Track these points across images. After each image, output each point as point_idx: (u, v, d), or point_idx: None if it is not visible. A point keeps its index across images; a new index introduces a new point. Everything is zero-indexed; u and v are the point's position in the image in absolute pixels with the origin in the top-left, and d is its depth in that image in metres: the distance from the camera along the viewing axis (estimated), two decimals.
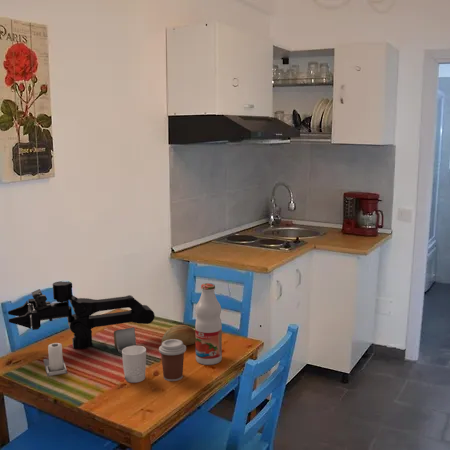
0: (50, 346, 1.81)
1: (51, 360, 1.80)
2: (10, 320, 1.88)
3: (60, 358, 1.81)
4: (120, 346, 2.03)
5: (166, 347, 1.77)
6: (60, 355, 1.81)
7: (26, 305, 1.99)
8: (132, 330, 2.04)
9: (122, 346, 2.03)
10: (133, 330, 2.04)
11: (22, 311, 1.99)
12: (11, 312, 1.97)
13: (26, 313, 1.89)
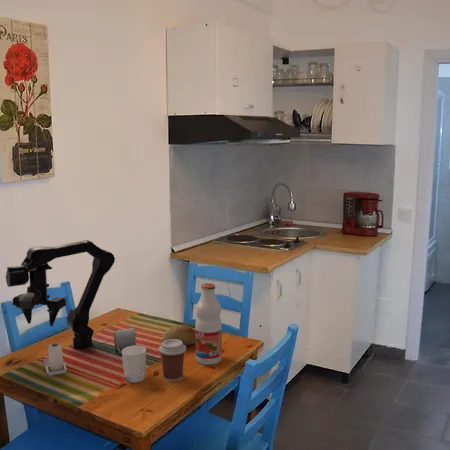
0: (50, 346, 1.81)
1: (51, 360, 1.80)
2: (52, 324, 1.93)
3: (60, 358, 1.81)
4: (120, 346, 2.02)
5: (166, 347, 1.77)
6: (60, 355, 1.81)
7: (24, 307, 1.93)
8: (132, 330, 2.04)
9: (122, 346, 2.02)
10: (133, 330, 2.04)
11: (28, 310, 1.95)
12: (29, 320, 1.95)
13: (49, 312, 1.90)
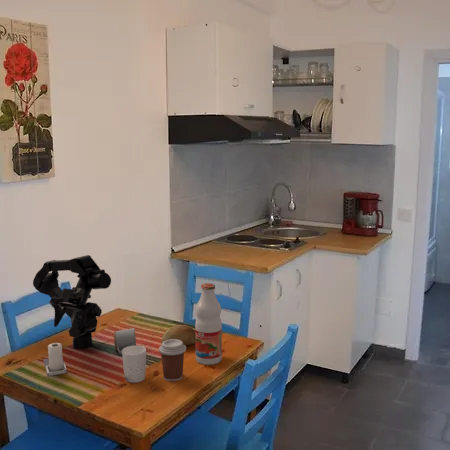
0: (50, 346, 1.81)
1: (51, 360, 1.80)
2: (78, 329, 1.88)
3: (60, 358, 1.81)
4: (120, 347, 2.02)
5: (166, 347, 1.77)
6: (60, 355, 1.81)
7: (58, 307, 1.93)
8: (132, 331, 2.04)
9: (122, 347, 2.02)
10: (133, 331, 2.04)
11: (60, 314, 1.93)
12: (56, 323, 1.91)
13: (83, 312, 1.89)
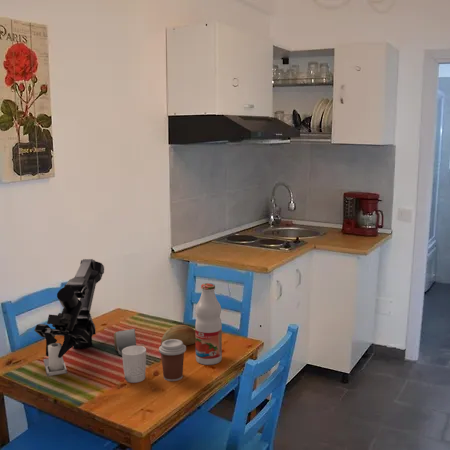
0: (50, 346, 1.81)
1: (51, 360, 1.80)
2: (60, 355, 1.80)
3: (60, 358, 1.81)
4: (120, 348, 2.01)
5: (166, 347, 1.77)
6: None
7: (50, 335, 1.84)
8: (132, 332, 2.03)
9: (122, 348, 2.01)
10: (133, 332, 2.03)
11: (52, 342, 1.85)
12: None
13: (65, 338, 1.82)
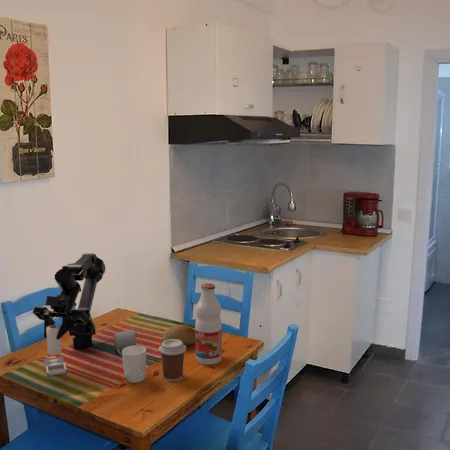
0: (48, 328, 1.80)
1: (49, 342, 1.79)
2: (58, 337, 1.79)
3: (58, 340, 1.80)
4: (120, 348, 2.00)
5: (166, 347, 1.77)
6: None
7: (48, 317, 1.83)
8: (132, 332, 2.02)
9: (122, 348, 2.01)
10: (133, 332, 2.02)
11: (50, 324, 1.84)
12: (46, 334, 1.81)
13: (63, 320, 1.81)
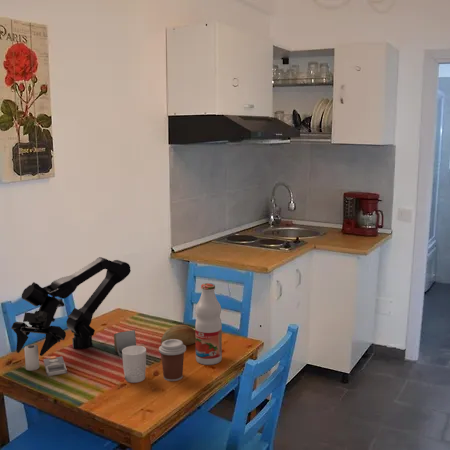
0: (26, 348, 1.84)
1: (27, 362, 1.83)
2: (41, 354, 1.82)
3: (36, 359, 1.84)
4: (120, 349, 2.00)
5: (166, 347, 1.77)
6: (36, 356, 1.84)
7: (21, 332, 1.87)
8: (132, 333, 2.02)
9: (122, 349, 2.00)
10: (133, 333, 2.02)
11: (22, 339, 1.88)
12: (19, 349, 1.85)
13: (46, 337, 1.83)
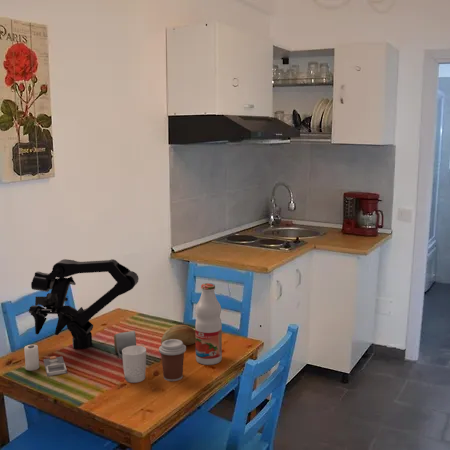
0: (26, 348, 1.84)
1: (27, 362, 1.83)
2: (57, 333, 1.91)
3: (36, 359, 1.84)
4: (120, 350, 1.99)
5: (166, 347, 1.77)
6: (36, 356, 1.84)
7: (37, 315, 1.97)
8: (133, 333, 2.01)
9: None
10: (134, 333, 2.01)
11: (40, 321, 1.98)
12: (38, 331, 1.96)
13: (58, 317, 1.92)
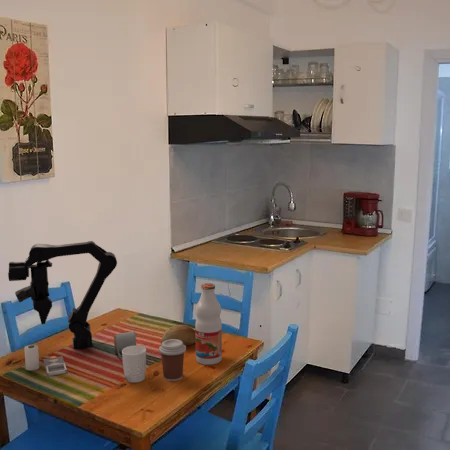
0: (26, 348, 1.84)
1: (27, 362, 1.83)
2: (42, 323, 1.95)
3: (36, 359, 1.84)
4: (120, 350, 1.99)
5: (166, 347, 1.77)
6: (36, 356, 1.84)
7: None
8: (133, 334, 2.00)
9: None
10: (134, 334, 2.00)
11: None
12: None
13: (36, 309, 1.92)
